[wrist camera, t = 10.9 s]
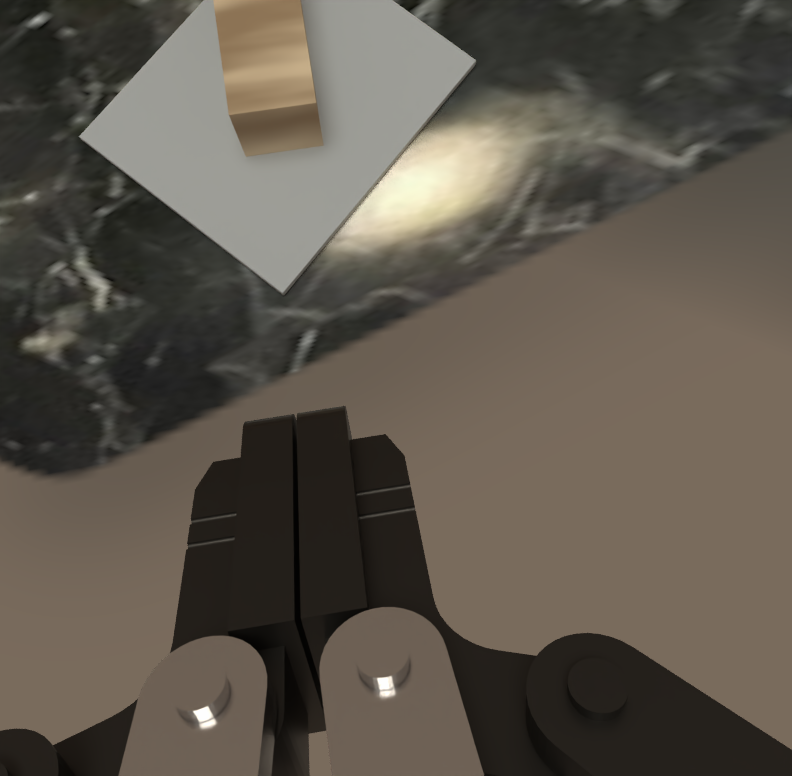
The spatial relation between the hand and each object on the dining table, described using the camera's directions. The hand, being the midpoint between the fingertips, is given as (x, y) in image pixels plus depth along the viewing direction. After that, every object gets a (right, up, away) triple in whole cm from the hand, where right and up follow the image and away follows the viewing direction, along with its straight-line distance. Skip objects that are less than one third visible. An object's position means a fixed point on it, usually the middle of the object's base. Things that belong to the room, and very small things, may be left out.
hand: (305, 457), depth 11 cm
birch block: (-5, +15, +28) cm, 32 cm away
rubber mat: (-5, +18, +31) cm, 36 cm away
